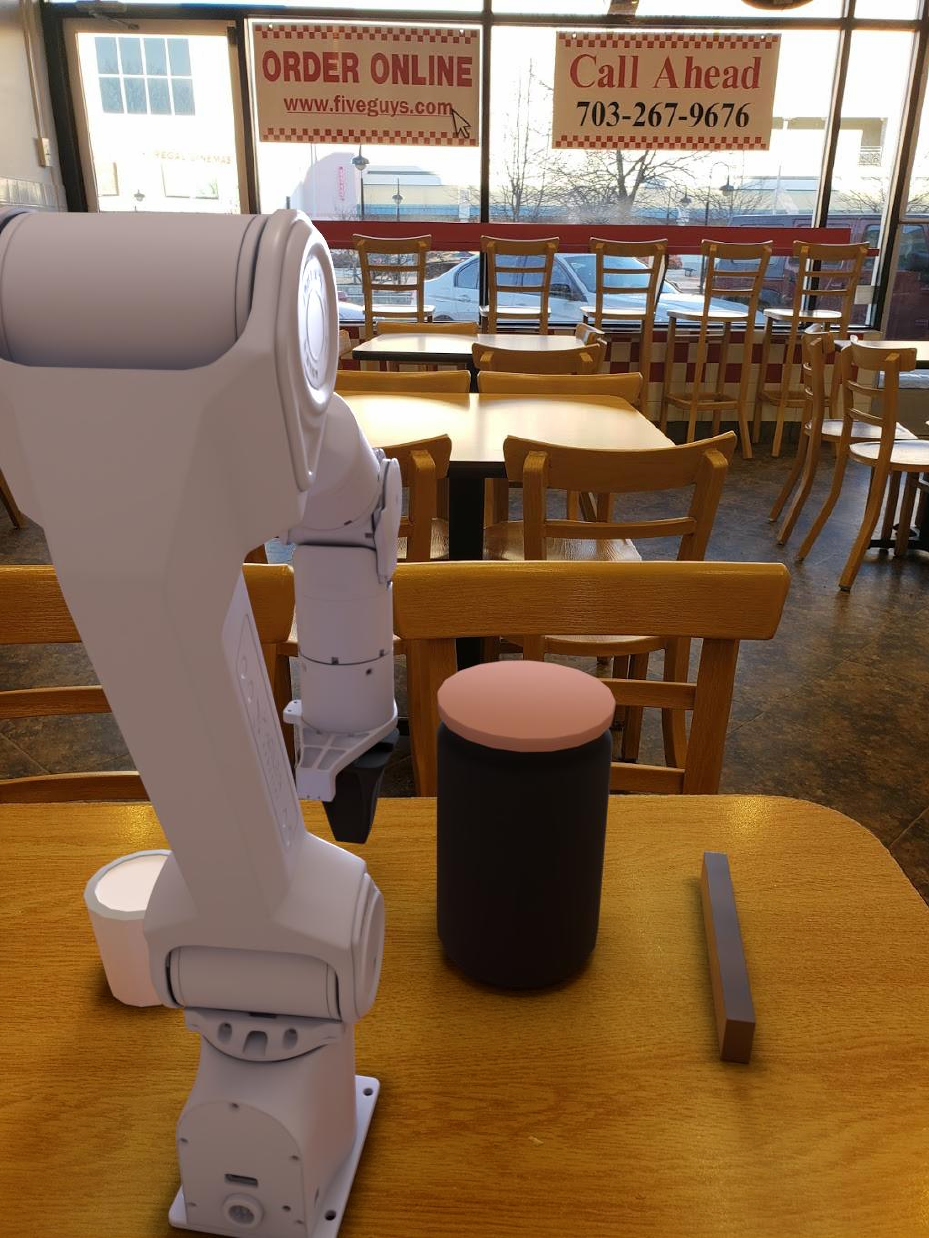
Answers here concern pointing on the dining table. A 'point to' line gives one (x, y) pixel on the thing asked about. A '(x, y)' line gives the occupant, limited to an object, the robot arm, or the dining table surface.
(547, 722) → the coffee jar
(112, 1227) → the dining table surface
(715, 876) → the bar
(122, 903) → the white cup
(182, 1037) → the dining table surface
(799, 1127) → the dining table surface
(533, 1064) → the dining table surface
